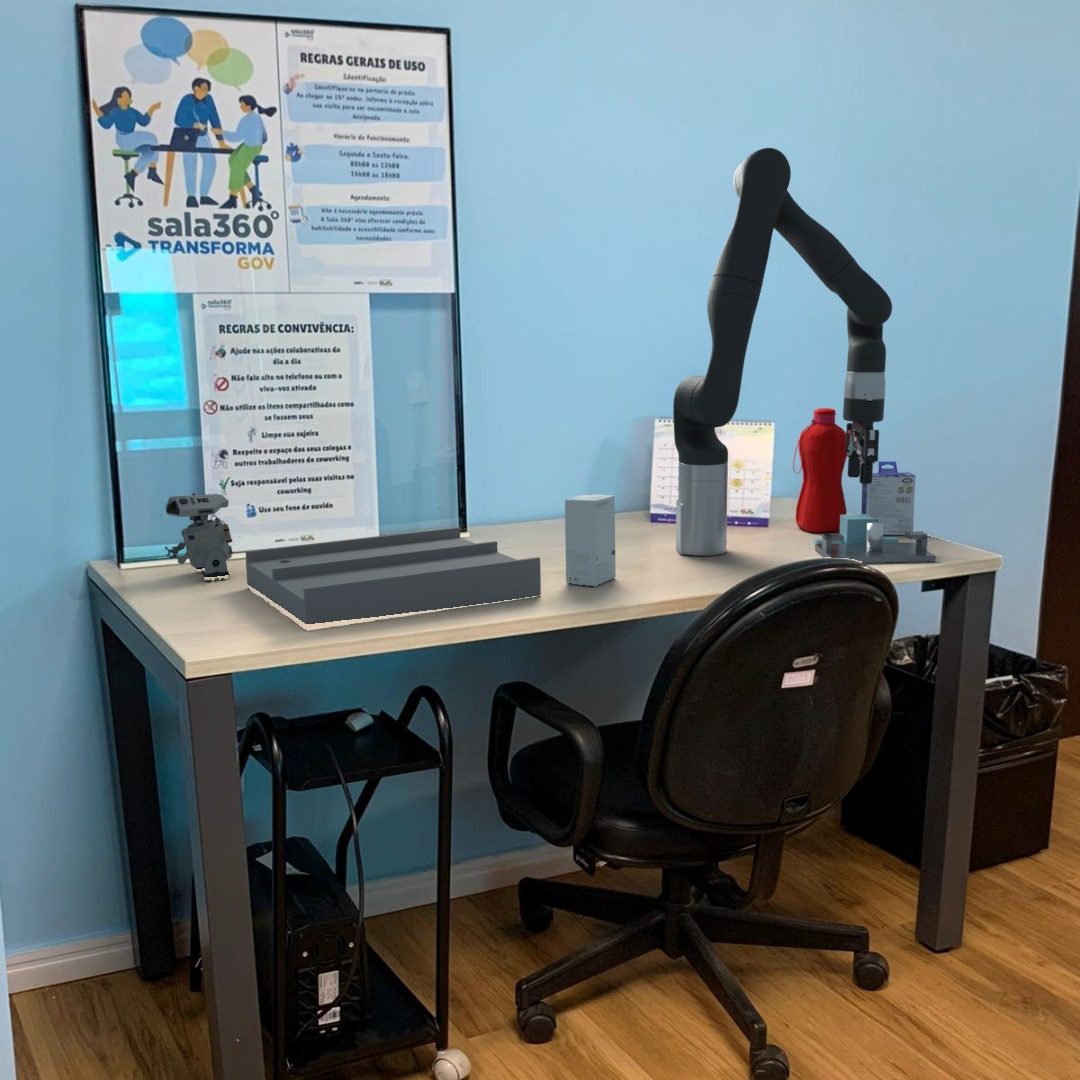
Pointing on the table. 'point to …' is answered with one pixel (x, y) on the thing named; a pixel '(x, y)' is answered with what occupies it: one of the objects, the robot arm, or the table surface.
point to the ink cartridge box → (890, 499)
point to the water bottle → (821, 474)
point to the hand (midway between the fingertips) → (859, 480)
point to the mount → (877, 547)
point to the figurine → (202, 533)
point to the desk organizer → (389, 575)
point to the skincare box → (590, 539)
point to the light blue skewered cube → (855, 530)
